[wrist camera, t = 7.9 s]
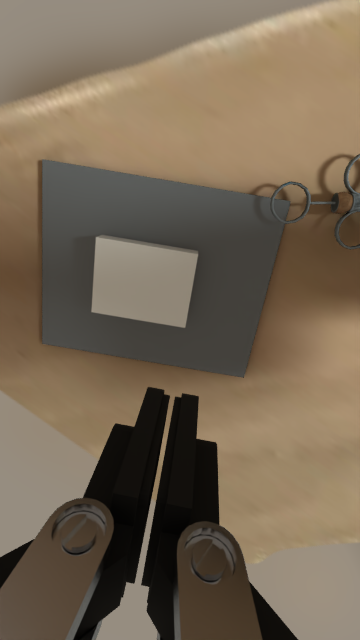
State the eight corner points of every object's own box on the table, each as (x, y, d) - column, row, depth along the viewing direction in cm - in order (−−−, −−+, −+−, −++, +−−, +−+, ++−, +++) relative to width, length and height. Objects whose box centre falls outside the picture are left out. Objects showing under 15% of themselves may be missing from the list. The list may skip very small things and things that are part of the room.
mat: (289, 201, 28) (290, 201, 28) (243, 375, 34) (243, 377, 34) (45, 159, 28) (42, 159, 28) (44, 341, 34) (42, 343, 34)
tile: (198, 254, 27) (95, 236, 27) (185, 327, 30) (91, 312, 30) (198, 250, 29) (103, 234, 29) (186, 319, 32) (98, 304, 32)
